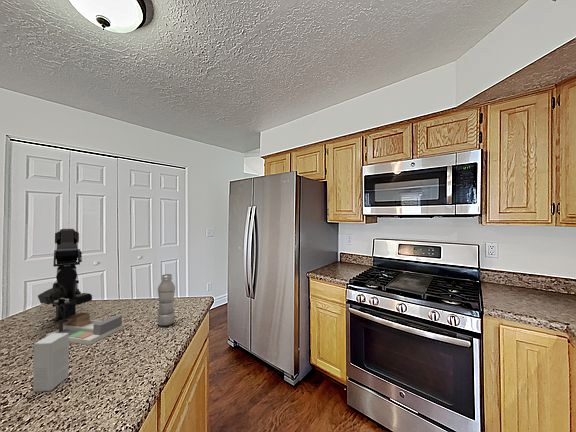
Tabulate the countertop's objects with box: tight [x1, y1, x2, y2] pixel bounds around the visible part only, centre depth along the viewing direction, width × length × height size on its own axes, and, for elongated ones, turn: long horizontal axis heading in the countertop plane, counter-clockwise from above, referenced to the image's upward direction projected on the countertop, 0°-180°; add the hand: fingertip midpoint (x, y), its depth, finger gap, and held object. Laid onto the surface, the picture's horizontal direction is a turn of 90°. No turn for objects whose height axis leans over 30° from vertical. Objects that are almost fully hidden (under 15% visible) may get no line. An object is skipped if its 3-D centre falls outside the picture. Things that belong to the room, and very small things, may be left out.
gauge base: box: [45, 315, 125, 346], centre depth 97 cm, size 19×14×5 cm
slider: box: [56, 312, 91, 332], centre depth 97 cm, size 4×10×4 cm, turn 167°
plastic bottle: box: [156, 273, 176, 327], centre depth 106 cm, size 6×7×20 cm
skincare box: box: [32, 333, 70, 393], centre depth 67 cm, size 6×4×12 cm
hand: (65, 319), depth 101 cm, fingers closed
